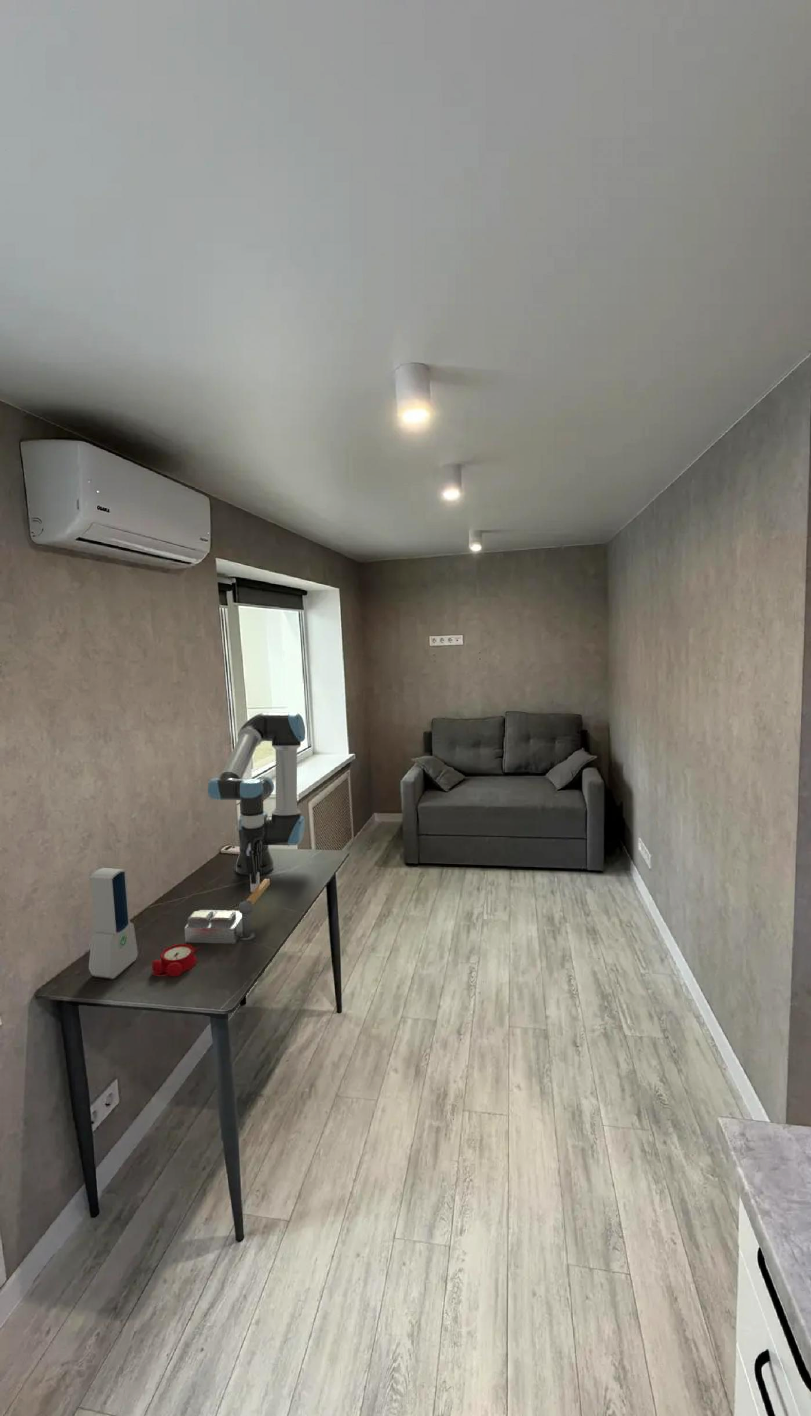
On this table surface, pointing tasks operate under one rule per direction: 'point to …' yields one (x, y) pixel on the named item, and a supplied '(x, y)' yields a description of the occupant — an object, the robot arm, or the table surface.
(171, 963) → the alarm clock
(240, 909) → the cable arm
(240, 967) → the table surface
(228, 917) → the grey boxy piece
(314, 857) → the table surface
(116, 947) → the electronic device
